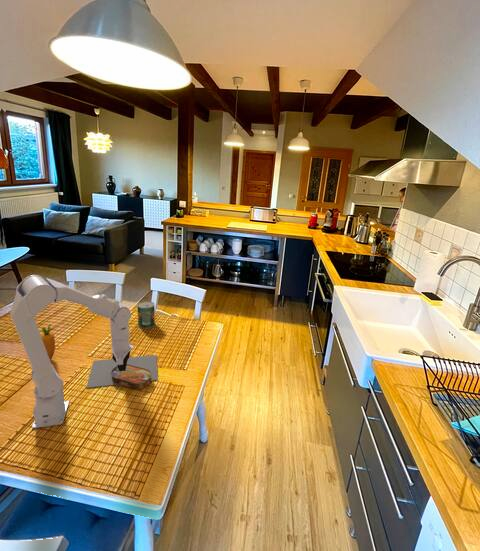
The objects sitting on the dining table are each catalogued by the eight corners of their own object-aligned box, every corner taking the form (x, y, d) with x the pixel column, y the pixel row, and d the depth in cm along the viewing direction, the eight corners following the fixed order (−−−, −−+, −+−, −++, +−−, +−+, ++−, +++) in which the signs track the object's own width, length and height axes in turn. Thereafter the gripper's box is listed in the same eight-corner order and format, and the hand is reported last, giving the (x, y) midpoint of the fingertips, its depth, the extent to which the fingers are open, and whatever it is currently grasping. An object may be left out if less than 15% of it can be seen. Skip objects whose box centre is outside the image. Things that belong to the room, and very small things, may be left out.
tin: (105, 375, 110) (120, 360, 118) (106, 381, 112) (121, 367, 119) (142, 386, 107) (155, 370, 114) (143, 393, 108) (156, 377, 115)
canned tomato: (135, 323, 152) (134, 303, 148) (150, 319, 157) (149, 299, 153) (142, 330, 147) (141, 309, 143) (157, 325, 152) (157, 305, 148)
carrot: (54, 354, 124) (49, 320, 119) (59, 359, 121) (55, 325, 116) (40, 359, 121) (35, 325, 116) (46, 364, 118) (40, 330, 113)
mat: (157, 380, 114) (157, 379, 114) (86, 388, 108) (86, 387, 107) (156, 355, 129) (156, 354, 129) (93, 361, 122) (93, 360, 122)
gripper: (131, 347, 100) (133, 381, 105) (133, 325, 113) (135, 356, 118) (108, 349, 98) (111, 384, 103) (112, 326, 111) (115, 358, 116)
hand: (122, 369), depth 110 cm, fingers closed
